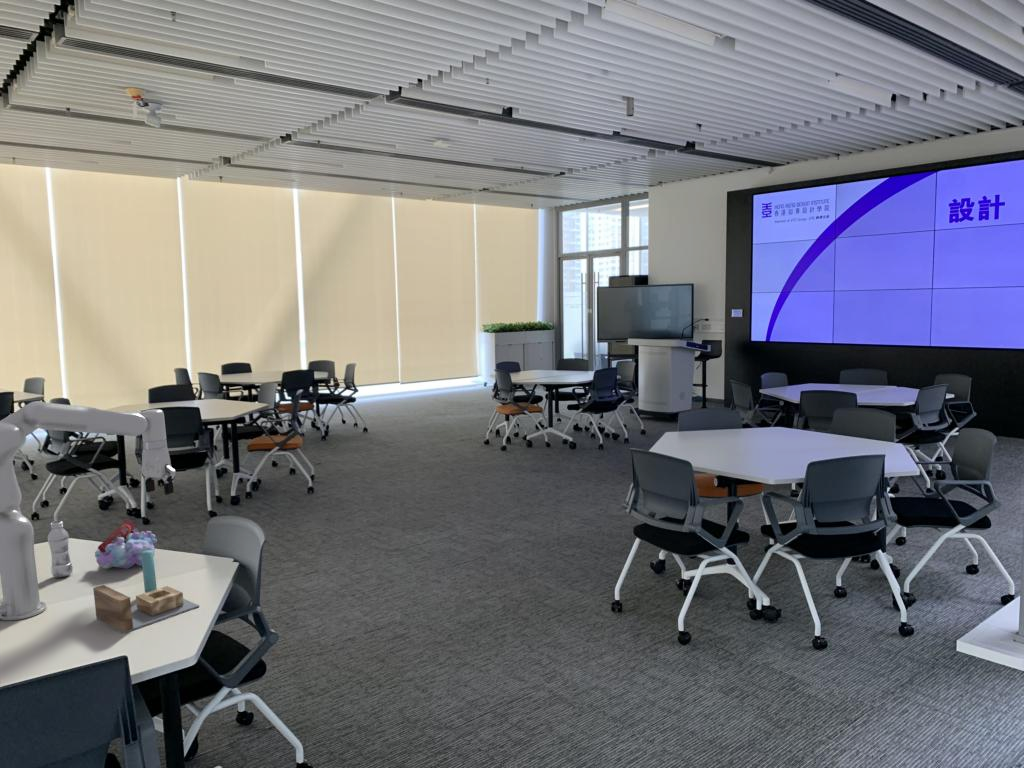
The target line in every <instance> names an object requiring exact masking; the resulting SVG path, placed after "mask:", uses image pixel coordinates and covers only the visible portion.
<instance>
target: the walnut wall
mask: <svg viewBox="0 0 1024 768" xmlns="http://www.w3.org/2000/svg"><path fill="white" fill-rule="evenodd" d="M92 591H93V598H94V599H93V600H94V606H95V616H96V617H95V618H98V619H99V620H101V621H103V622H105V623H107V624H108V625H110V626H112V627H114V628H116V629H118V630H119V631H121V632H125V631H128V630H131V629H133V622H132V612H131V606H132V604H131V603H132V602H131V597H129V596H127V595H126V594H124V593H121V592H119V591H118V590H115V589H113V588H112V587H111V588H110V587H109V586H107V585H104V584H102V585H98V586H96V587H93V590H92ZM108 625H107V626H108Z"/></svg>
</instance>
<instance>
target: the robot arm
mask: <svg viewBox="0 0 1024 768" xmlns="http://www.w3.org/2000/svg"><path fill="white" fill-rule="evenodd" d="M38 429H39V430H48V431H64V432H66V431H67V432H76V433H88V434H104V435H107V434H108V435H115V436H117V435H118V436H128V437H129V436H130V437H137V436H142V447H143V449H142V452H141V453H142V454H141V467H140V468H139V470H140V473H141V475H142V477H143V481H144V482H145V483H144V484H145V492H146V493H150V492H151V493H152V492H154V491H155V490H156V486H155V479H162V481H163V482H164V483H163V491H164V495H165V496H166V495H170V494H173V493H174V480H175V479H176V472H177V471H176V469H175V468H173V467H172V464H171V463H172V462H171V457H170V453H169V450H168V449H169V448H168V443H167V432H166V431H167V430H166V422H165V414H164V411H163V410H162V409H159V408H158V409H152V408H151V409H146V410H143V411H124V412H119V411H111V410H105V409H100V408H96V407H91V406H85V405H74V404H73V405H72V404H65V403H63V404H62V403H55V402H54V403H52V402H45V401H41V400H36V401H31V402H29V403H27V404H26V405H24V406H22V407H21V408H19V409H18V410H16V411H15V412H13V413H11V414H9V415H8V416H6V417H5V418H3V419H1V420H0V583H1V590H2V591H1V592H2V601H0V620H2V621H17V620H24V619H27V618H30V617H34V616H36V615H40V614H41V613H43V612H44V611H45V610H46V609H47V603H45V602H44V601H41V598H40V590H39V582H38V581H39V580H38V572H37V564H36V562H37V561H36V554H35V553H36V552H35V530H34V527H33V524H32V522H31V521H30V520H29V519H28V518H27V517H26V516H24V515H23V513H22V512H21V511H22V510H21V507H20V505H21V503H22V500H23V499H22V492H21V488H20V486H19V483H18V479H17V475H16V472H15V467H14V457H15V455H16V454H17V453H18V451H19V450H20V449H22V448H23V446H24V445H25V444H26V442H27V441H26V440H27V436H29V435H31V434H32V433H34V432H35V431H37V430H38Z"/></svg>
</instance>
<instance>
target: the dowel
mask: <svg viewBox="0 0 1024 768" xmlns="http://www.w3.org/2000/svg"><path fill="white" fill-rule="evenodd" d="M141 557H142V566H141V568H142V576H143V585H144V586H143V587H144V593H147V592H150V591H153V590H156V589H158V587H157V577H156V566H155V559H154V558H155V554H154V555H153V550H146V551H143V552H141Z"/></svg>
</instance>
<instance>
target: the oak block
mask: <svg viewBox="0 0 1024 768" xmlns="http://www.w3.org/2000/svg"><path fill="white" fill-rule="evenodd" d="M183 593H184V592H182V591H180V590H177V589H176V588H173V587H171V586H168V585H165V586H163V587H159V588H157V589H156V590H153V591H150V592H147V593H145V592H144V593H141V594H138V595H136V596H135V600H136V605H137V609H139V610H141V611H143V612H145V613H148V614H150V615H152V616H153V615H156V614H159V613H161V612H164V611H167V610H170V609H173V608H176V607H179V606H182V605H184V603H183V599H184V594H183Z"/></svg>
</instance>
